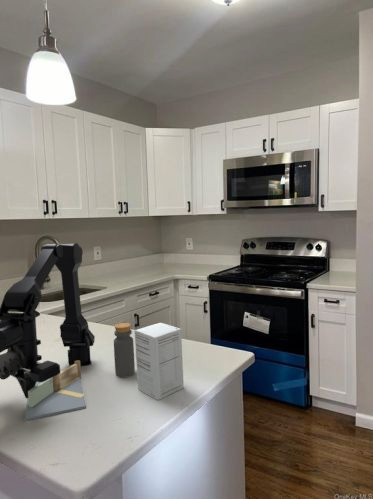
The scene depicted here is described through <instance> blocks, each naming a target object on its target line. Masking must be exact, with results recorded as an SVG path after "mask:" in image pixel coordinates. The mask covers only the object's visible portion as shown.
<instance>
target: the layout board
mask: <svg viewBox="0 0 373 499" xmlns="http://www.w3.org/2000/svg"><path fill="white" fill-rule="evenodd" d="M80 377H81V379H80ZM80 377H78V378H76V379H74V380H73V381H71V382H70V383H68V384H66V385H65V386H63V387H61V388H59V391H57V392H52V393H51V394H50V395H48V396H47V397H46V398H44V399H43V400H41V401H40V402H39V403H37V404H36V405H35V406H33V407H29V401H28V398H26V405H25V413H24V422H27V421H30V420H32V421H33V420H37V419H41V418H46V417H49V416H54V415H55V416H56V415H60V414H65V413H70V412H74V411H79V410H84V409H87V405H86V400H85V399H86V398H85V396H86V394H85V393H84V390H83V385H82V384H83V383H82V375H81V376H80ZM40 383H41V382H36V385H35V386H37V385H38V384H40Z"/></svg>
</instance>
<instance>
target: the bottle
mask: <svg viewBox="0 0 373 499" xmlns="http://www.w3.org/2000/svg"><path fill="white" fill-rule="evenodd" d="M131 326H132V325H131V323H128V322H122V323H121V322H120V323H117V324H115V325H114V328H115V330H114V336H115V338H114V339H113V352H114V353H113V354H114V372H115V376H116V377H118V378H128V377H131V376H133V375H134V374H136V372H135V371H136V368H135V367H136V366H135V364H136V363H135V348H134V347H135V345H134V344H135V343H134V338H133V337H132V336H131V335H132V334H133V333H132V331H133V330H132V329H131Z"/></svg>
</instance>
